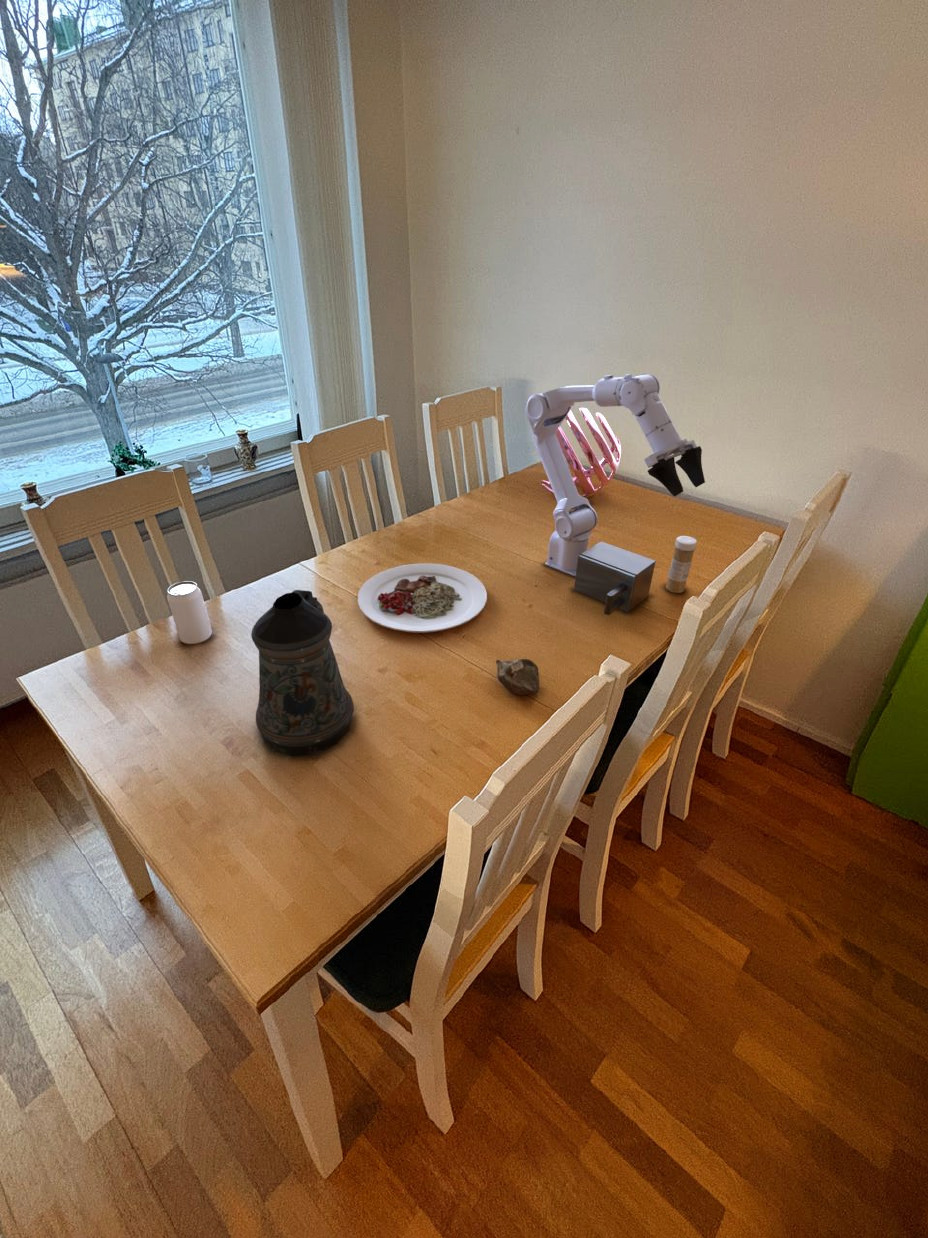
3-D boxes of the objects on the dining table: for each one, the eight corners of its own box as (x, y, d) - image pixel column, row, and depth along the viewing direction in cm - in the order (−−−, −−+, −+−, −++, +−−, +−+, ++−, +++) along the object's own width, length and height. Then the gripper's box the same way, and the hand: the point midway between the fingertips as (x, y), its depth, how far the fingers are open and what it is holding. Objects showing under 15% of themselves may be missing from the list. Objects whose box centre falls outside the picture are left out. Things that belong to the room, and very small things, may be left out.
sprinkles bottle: (676, 583, 148) (688, 533, 140) (688, 592, 144) (701, 542, 136) (661, 586, 146) (672, 536, 139) (672, 595, 143) (684, 545, 135)
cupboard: (629, 611, 137) (636, 574, 131) (576, 588, 145) (580, 553, 139) (648, 596, 142) (655, 560, 137) (595, 575, 150) (601, 541, 145)
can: (219, 631, 128) (206, 583, 122) (198, 647, 123) (184, 598, 116) (194, 625, 130) (180, 577, 123) (173, 641, 125) (157, 592, 118)
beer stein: (266, 770, 96) (235, 646, 82) (251, 696, 111) (222, 580, 97) (365, 741, 102) (352, 620, 88) (338, 675, 116) (323, 562, 102)
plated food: (512, 600, 140) (513, 587, 138) (420, 655, 122) (420, 642, 120) (424, 558, 157) (424, 546, 155) (331, 601, 139) (330, 589, 137)
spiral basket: (512, 441, 178) (594, 388, 169) (519, 436, 204) (590, 391, 195) (558, 521, 183) (640, 474, 175) (559, 507, 209) (630, 466, 201)
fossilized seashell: (486, 662, 116) (500, 701, 109) (506, 639, 113) (521, 678, 106) (515, 671, 120) (530, 709, 113) (535, 649, 117) (552, 688, 110)
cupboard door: (612, 624, 132) (618, 588, 127) (557, 600, 140) (561, 565, 135) (629, 611, 136) (636, 575, 131) (575, 588, 145) (580, 554, 139)
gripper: (651, 426, 114) (684, 489, 113) (695, 412, 121) (725, 471, 121) (626, 445, 120) (657, 505, 119) (669, 431, 127) (698, 487, 127)
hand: (689, 489), depth 120 cm, fingers open, 7 cm apart
